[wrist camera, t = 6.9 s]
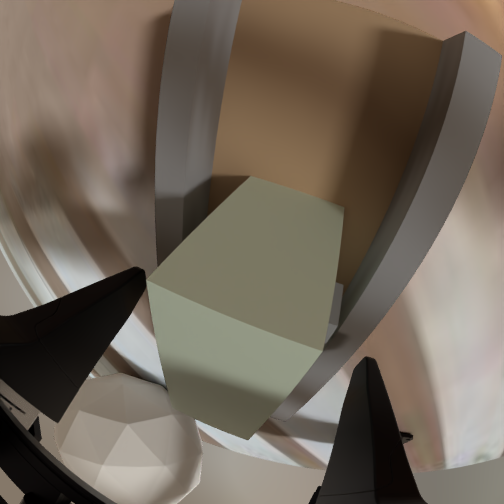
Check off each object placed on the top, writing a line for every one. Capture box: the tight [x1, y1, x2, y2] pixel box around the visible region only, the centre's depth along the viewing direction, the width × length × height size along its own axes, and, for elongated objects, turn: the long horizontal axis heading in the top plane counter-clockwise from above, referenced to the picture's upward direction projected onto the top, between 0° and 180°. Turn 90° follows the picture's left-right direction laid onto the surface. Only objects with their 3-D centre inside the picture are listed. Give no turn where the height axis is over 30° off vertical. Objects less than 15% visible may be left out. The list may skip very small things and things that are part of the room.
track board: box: [155, 0, 502, 422], centre depth 11 cm, size 22×11×3 cm, turn 169°
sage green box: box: [146, 176, 344, 440], centre depth 9 cm, size 8×4×6 cm, turn 170°
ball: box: [54, 373, 203, 504], centre depth 24 cm, size 19×20×20 cm
